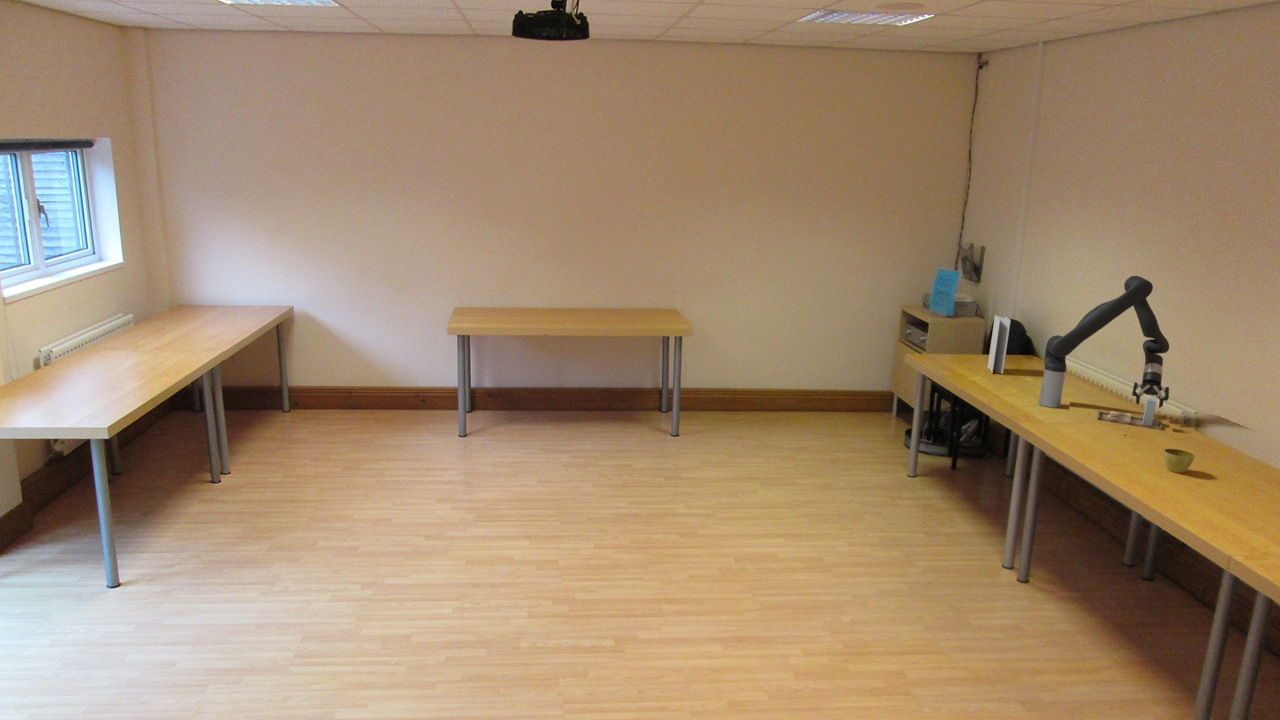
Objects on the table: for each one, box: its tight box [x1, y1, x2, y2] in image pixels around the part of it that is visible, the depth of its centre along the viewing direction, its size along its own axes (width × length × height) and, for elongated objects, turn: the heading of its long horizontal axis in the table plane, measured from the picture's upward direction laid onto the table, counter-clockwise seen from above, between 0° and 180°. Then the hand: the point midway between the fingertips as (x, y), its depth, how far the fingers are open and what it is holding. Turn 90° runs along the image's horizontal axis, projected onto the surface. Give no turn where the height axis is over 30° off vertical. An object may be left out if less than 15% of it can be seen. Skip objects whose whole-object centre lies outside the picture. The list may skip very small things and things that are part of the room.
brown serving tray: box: [1097, 410, 1164, 431], centre depth 391 cm, size 25×13×2 cm, turn 63°
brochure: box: [987, 314, 1012, 375], centre depth 480 cm, size 14×6×30 cm, turn 168°
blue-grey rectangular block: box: [1142, 397, 1157, 426], centre depth 388 cm, size 3×5×11 cm, turn 153°
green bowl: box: [1163, 448, 1196, 474], centre depth 331 cm, size 10×10×7 cm
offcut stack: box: [1107, 410, 1132, 422], centre depth 389 cm, size 9×4×4 cm, turn 63°
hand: (1149, 405), depth 394 cm, fingers open, 8 cm apart
